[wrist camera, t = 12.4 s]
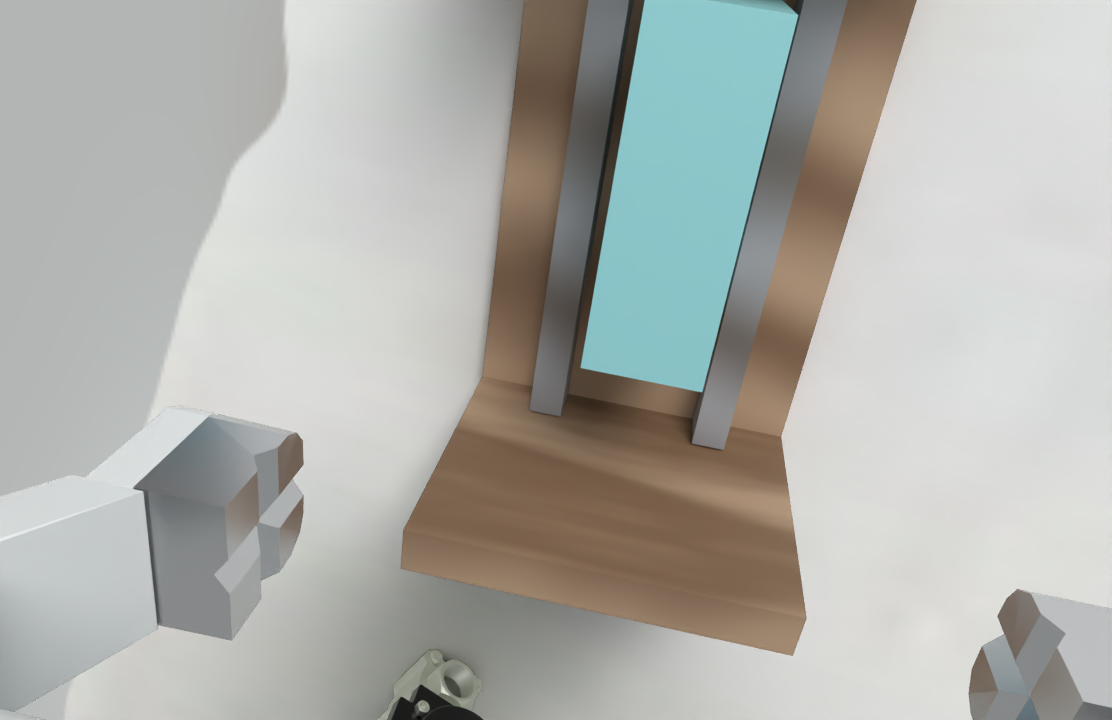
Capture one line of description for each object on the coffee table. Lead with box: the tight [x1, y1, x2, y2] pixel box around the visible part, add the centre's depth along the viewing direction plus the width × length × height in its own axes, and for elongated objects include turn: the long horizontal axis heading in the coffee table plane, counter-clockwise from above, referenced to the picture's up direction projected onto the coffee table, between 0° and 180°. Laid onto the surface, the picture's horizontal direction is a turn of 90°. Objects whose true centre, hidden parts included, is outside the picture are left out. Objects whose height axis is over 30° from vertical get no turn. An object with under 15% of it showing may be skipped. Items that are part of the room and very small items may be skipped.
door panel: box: [581, 0, 798, 392], centre depth 25 cm, size 10×4×8 cm, turn 172°
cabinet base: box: [401, 0, 916, 656], centre depth 25 cm, size 24×12×11 cm, turn 172°
